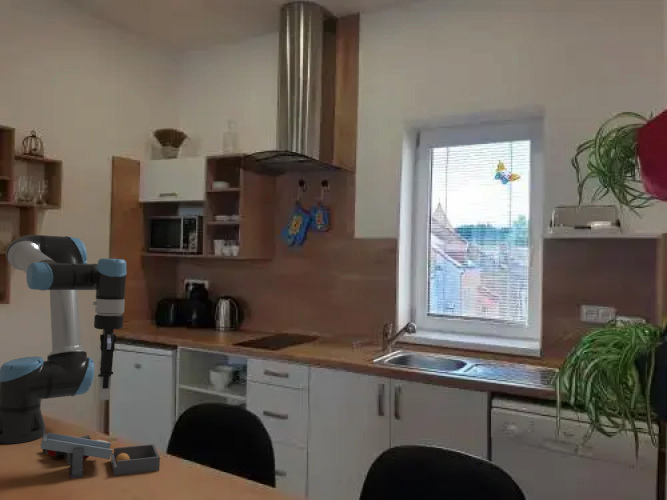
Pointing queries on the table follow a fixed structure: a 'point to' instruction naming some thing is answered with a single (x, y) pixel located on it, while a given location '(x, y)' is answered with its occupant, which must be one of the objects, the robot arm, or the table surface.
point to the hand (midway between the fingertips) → (104, 399)
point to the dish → (136, 459)
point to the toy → (66, 455)
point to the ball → (122, 457)
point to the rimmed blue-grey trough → (76, 445)
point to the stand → (77, 463)
